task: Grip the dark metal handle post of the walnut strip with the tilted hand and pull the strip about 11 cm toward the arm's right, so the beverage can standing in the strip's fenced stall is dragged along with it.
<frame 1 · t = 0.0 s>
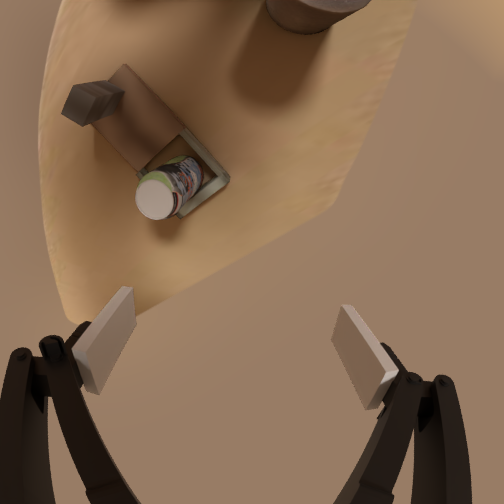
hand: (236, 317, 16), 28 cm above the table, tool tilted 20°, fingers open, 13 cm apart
beverage can: (182, 169, 39), resting in pull strip
pillar candle: (301, 5, 24), on the table
pull strip: (140, 147, 31), point 5 cm above the table, slide at 0.0 cm
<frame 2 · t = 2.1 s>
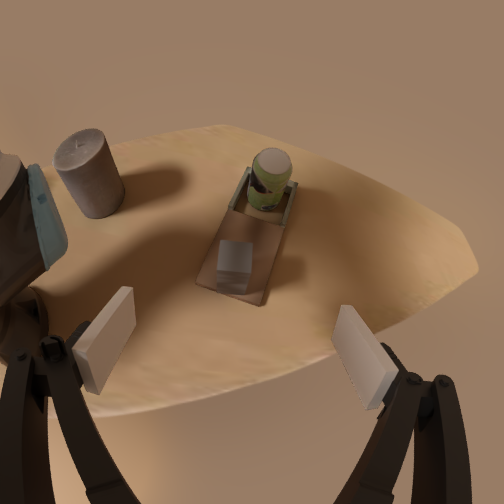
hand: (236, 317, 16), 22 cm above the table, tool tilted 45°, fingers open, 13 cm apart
beverage can: (262, 203, 49), resting in pull strip
pillar candle: (102, 199, 45), on the table
pull strip: (254, 215, 41), point 5 cm above the table, slide at 0.0 cm
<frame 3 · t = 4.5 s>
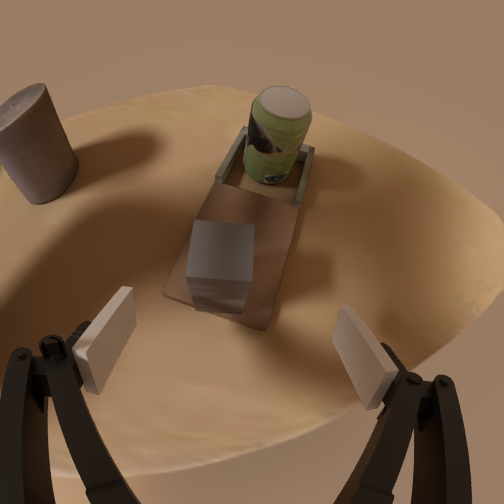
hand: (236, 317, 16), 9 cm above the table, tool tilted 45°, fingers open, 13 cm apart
beverage can: (265, 174, 33), resting in pull strip
pillar candle: (50, 179, 29), on the table
pull strip: (255, 186, 26), point 5 cm above the table, slide at 0.0 cm
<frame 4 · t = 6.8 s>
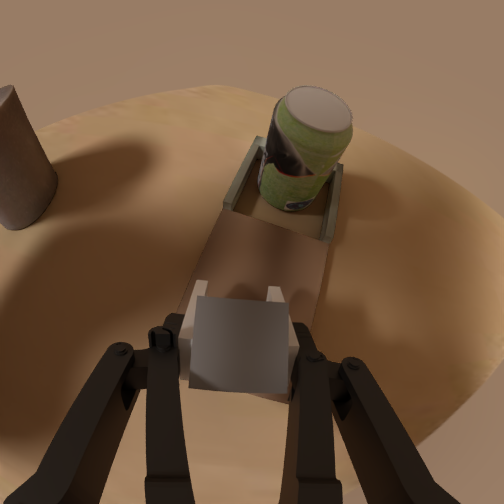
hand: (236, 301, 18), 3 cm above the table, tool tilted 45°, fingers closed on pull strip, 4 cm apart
beverage can: (285, 197, 27), resting in pull strip
pillar candle: (27, 199, 24), on the table
pull strip: (278, 221, 19), point 5 cm above the table, slide at 0.0 cm, touching gripper
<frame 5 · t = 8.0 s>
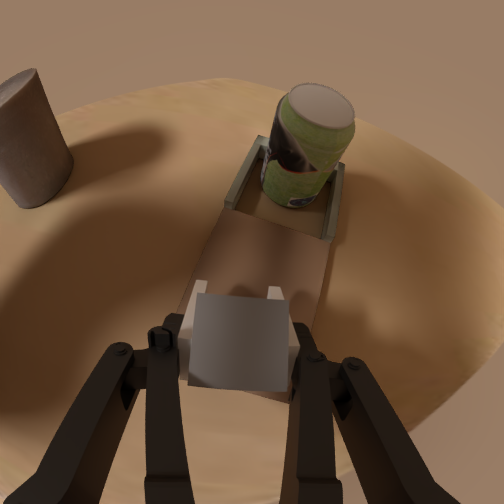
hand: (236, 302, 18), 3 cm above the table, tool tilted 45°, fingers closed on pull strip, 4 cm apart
beverage can: (287, 194, 27), resting in pull strip
pillar candle: (42, 180, 25), on the table
pull strip: (279, 220, 19), point 5 cm above the table, slide at 2.9 cm, touching beverage can, gripper
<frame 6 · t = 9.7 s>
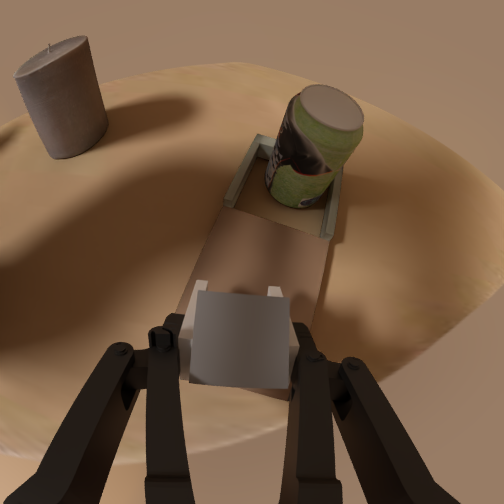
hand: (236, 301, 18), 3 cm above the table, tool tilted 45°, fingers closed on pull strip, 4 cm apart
beverage can: (292, 194, 27), resting in pull strip
pillar candle: (76, 137, 29), on the table
pull strip: (279, 218, 19), point 5 cm above the table, slide at 10.7 cm, touching beverage can, gripper
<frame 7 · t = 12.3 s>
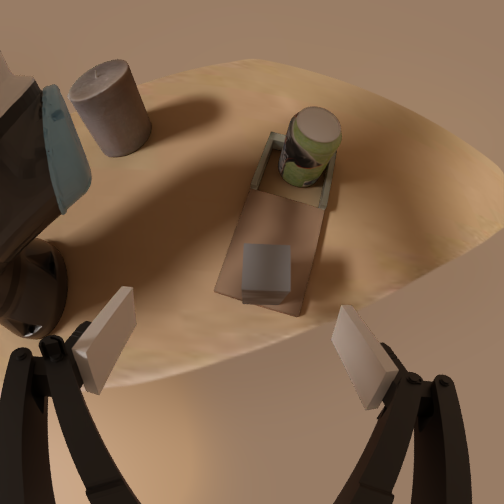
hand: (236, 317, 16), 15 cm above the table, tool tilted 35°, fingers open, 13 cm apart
beverage can: (299, 176, 37), resting in pull strip
pillar candle: (125, 137, 40), on the table
pull strip: (287, 198, 30), point 5 cm above the table, slide at 10.8 cm
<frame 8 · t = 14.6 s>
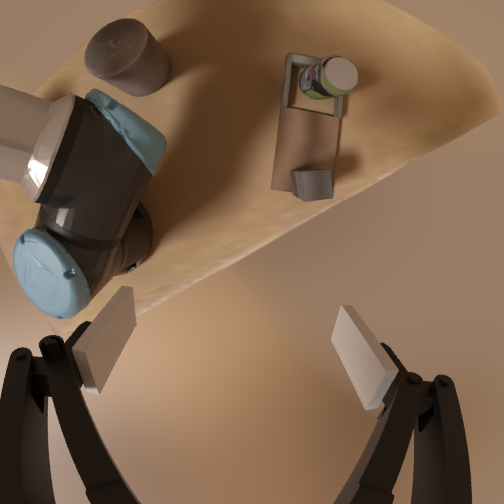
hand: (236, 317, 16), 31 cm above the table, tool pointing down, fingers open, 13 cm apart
beverage can: (315, 88, 39), resting in pull strip
pillar candle: (145, 73, 36), on the table
pull strip: (316, 120, 36), point 5 cm above the table, slide at 10.8 cm
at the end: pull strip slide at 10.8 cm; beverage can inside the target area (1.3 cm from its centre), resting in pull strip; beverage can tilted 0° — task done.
